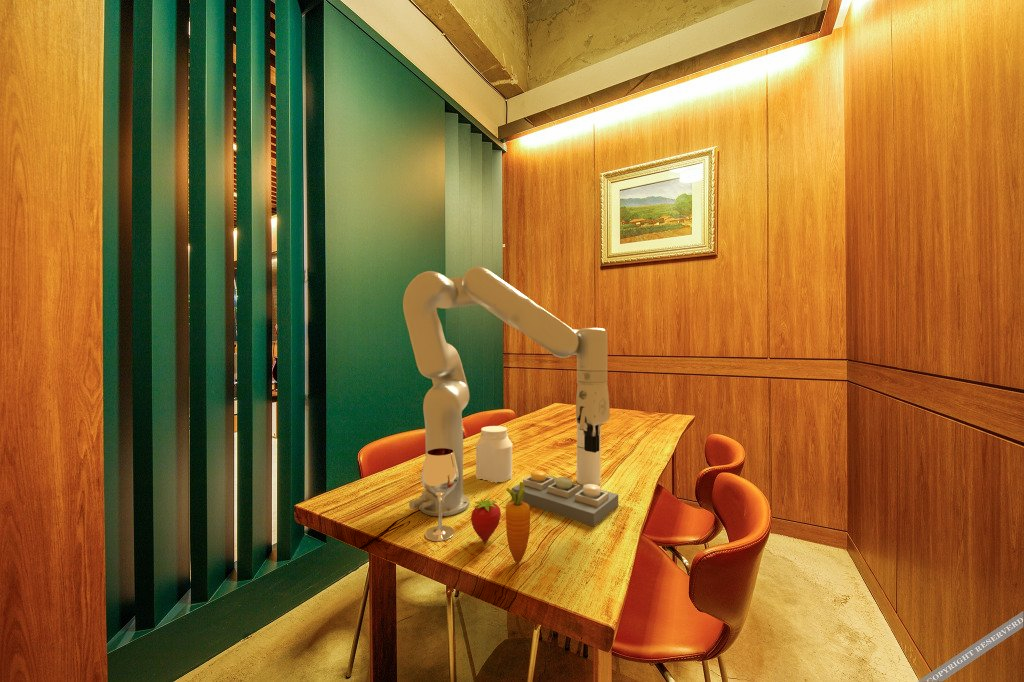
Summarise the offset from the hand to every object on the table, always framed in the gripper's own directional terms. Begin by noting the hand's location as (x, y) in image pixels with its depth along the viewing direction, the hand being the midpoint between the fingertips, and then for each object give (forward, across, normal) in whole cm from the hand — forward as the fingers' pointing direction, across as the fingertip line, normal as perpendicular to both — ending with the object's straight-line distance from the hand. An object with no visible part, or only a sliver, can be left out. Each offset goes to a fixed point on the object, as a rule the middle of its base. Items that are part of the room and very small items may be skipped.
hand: (591, 450), depth 93 cm
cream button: (+11, 0, 0) cm, 11 cm away
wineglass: (+15, -31, +21) cm, 40 cm away
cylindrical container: (+15, +18, +10) cm, 26 cm away
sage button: (+11, 0, +8) cm, 13 cm away
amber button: (+11, 0, +16) cm, 19 cm away
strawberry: (+15, -27, +11) cm, 33 cm away
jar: (+15, +3, +35) cm, 38 cm away
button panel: (+15, 0, +8) cm, 17 cm away
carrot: (+15, -29, +1) cm, 33 cm away
